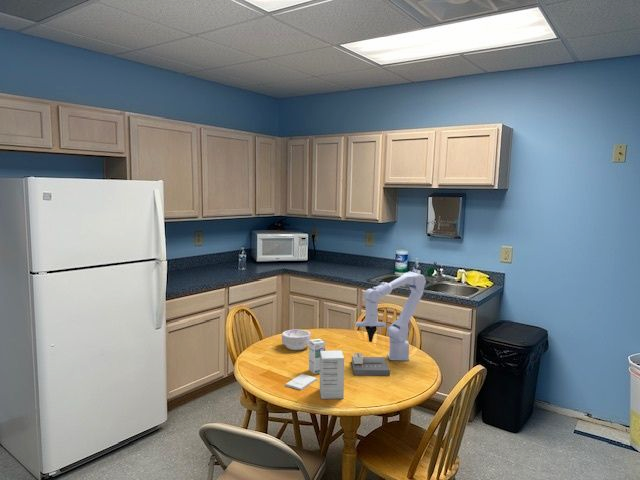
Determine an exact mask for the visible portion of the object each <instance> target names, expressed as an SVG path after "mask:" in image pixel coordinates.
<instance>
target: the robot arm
mask: <svg viewBox="0 0 640 480" xmlns="http://www.w3.org/2000/svg"><path fill="white" fill-rule="evenodd" d="M380 283H381V284H378V285H377V286H373V287H372V288H368V289H366V290H365V292H364V293H363V298H364V301H365V312H364V314H365V316H364V317H365V319H364V321H356V322H355V327H356V328H361V327H362V328H365V330H366V332H367V337H368V342H370V343H372V342H373V340H374V339H373V338H374V336H375V334H376V331H377V330H378V329H377V328H386V329H387V331H386V332H387V335H388V337H389V349H388V350H389V352H388V353H387V358H388V359H389V361H410V359H409V358H410V356H409V355H410V343H409V341H408V340H407V339H408V334H409V332H410V328H409V323H410V321H411V319H412V316H413V314H414V313H415V311H416V309H417V306H418V305H419V302H420V300H422V296H423V295H424V290H425V289H424V288H425V285H426V283H427V281H426V278H425V275H423V274H421V273H416V272H413V271H407V272H405V273H403V274H402V275H401V276H399V277H397V278H395V279H394V280H392V281H390V282H384V281H382V282H380ZM403 285H407V286H408V287H409V289H410V294H409V296H408V298H407V300H406V302H405V304H404V306H403V308H402V310H401V312H400V314H399V316H398V318H397V320H394V321H393V322H392V323H391V325H390V326H389V327H388V328H387V322H383V321H382V322H381V321H378V308H379V307H378V303H379V302H380V301H381V300H380V299H381V298H383V297H386V296H388V295H389V294H391V293H392V291H393V290H394V289H396V288H399V287H402V286H403Z"/></svg>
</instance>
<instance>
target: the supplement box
mask: <svg viewBox="0 0 640 480" xmlns="http://www.w3.org/2000/svg"><path fill="white" fill-rule="evenodd" d="M344 382H345V357H344V354H343V351H342V350H325V351H320V373H319V393H320V399H321V400H327V399H328V400H331V399H332V400H333V399H335V400H337V399H344V394H345V392H344V391H345V383H344Z"/></svg>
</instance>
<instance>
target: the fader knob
mask: <svg viewBox="0 0 640 480" xmlns="http://www.w3.org/2000/svg"><path fill="white" fill-rule="evenodd" d="M353 357H354V358H353V360H354V364H363V357H364V355H363V353H359V352H357V353H356V352H354V353H353Z"/></svg>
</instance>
